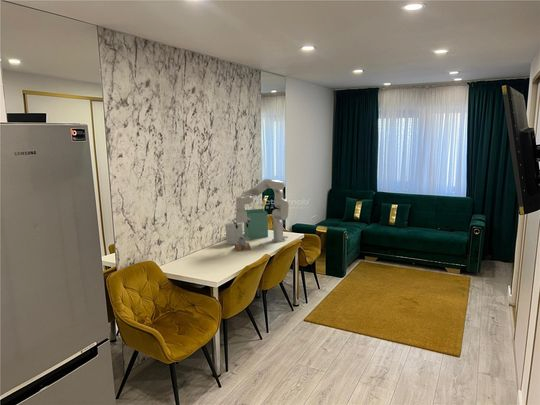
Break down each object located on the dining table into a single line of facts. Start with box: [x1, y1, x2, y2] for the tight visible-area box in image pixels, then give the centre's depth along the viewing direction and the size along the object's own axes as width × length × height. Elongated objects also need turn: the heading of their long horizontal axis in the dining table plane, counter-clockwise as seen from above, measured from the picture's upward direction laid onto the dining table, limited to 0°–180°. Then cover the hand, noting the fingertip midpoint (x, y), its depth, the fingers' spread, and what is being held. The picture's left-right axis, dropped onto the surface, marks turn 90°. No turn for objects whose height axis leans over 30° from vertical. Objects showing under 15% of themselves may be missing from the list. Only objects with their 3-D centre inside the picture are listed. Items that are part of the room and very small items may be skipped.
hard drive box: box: [225, 222, 244, 245], centre depth 375 cm, size 16×8×20 cm, turn 84°
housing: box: [239, 236, 247, 246], centre depth 355 cm, size 8×5×7 cm, turn 16°
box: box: [243, 208, 269, 240], centre depth 403 cm, size 23×21×26 cm
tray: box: [234, 242, 251, 252], centre depth 356 cm, size 12×12×4 cm
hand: (242, 228), depth 353 cm, fingers open, 9 cm apart
